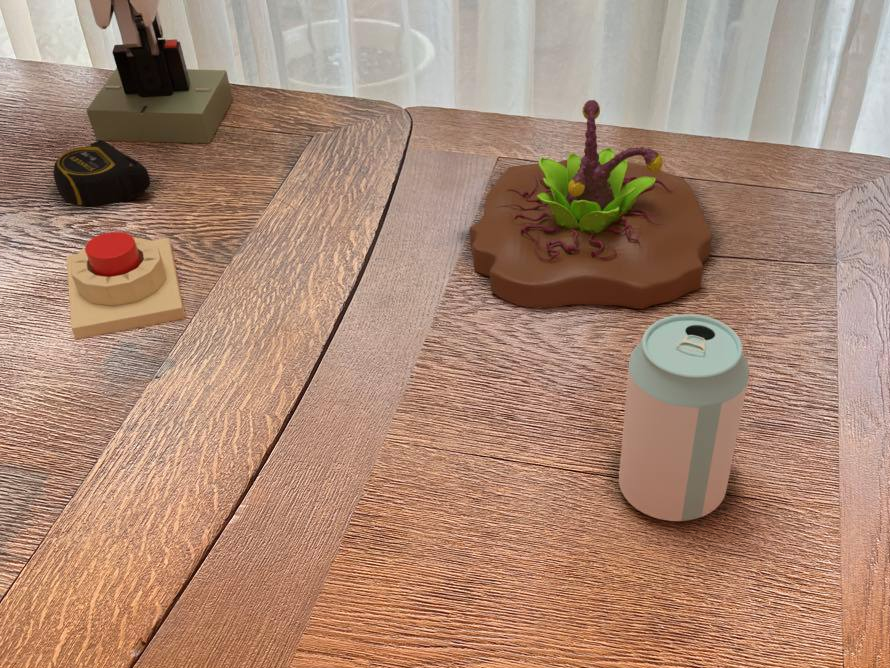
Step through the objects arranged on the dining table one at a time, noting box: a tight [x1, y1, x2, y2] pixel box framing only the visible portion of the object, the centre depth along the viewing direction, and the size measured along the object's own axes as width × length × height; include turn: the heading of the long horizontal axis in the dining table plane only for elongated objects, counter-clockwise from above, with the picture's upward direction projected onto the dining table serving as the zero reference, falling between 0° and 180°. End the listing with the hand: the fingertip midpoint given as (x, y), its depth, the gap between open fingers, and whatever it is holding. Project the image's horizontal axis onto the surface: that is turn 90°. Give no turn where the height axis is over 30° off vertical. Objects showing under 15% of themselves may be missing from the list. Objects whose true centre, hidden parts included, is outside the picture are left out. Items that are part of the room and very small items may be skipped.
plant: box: [469, 99, 713, 310], centre depth 83 cm, size 20×20×11 cm
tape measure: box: [52, 140, 151, 208], centre depth 90 cm, size 7×7×4 cm
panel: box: [85, 67, 234, 144], centre depth 100 cm, size 11×10×3 cm
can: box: [618, 313, 750, 522], centre depth 64 cm, size 7×7×12 cm
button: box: [84, 231, 141, 277], centre depth 78 cm, size 4×4×2 cm
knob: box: [111, 39, 190, 94], centre depth 97 cm, size 6×2×4 cm, turn 98°
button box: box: [65, 237, 186, 340], centre depth 80 cm, size 10×8×4 cm
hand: (157, 87), depth 99 cm, fingers closed on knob
